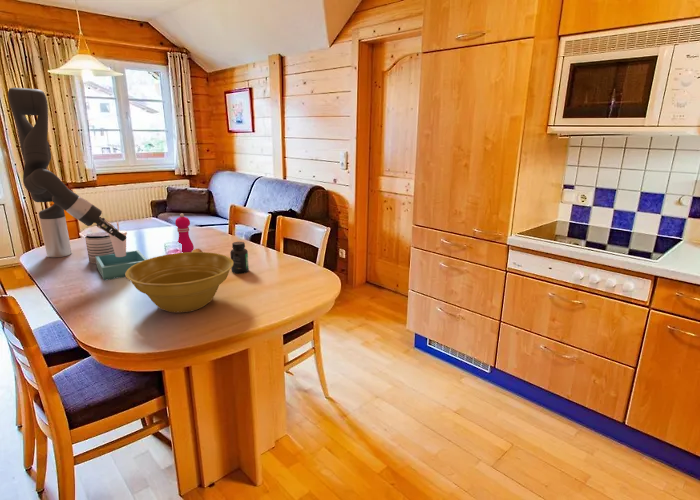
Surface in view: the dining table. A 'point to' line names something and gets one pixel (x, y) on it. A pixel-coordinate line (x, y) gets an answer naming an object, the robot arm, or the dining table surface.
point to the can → (98, 245)
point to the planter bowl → (180, 279)
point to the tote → (117, 264)
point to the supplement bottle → (239, 258)
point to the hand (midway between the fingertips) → (123, 237)
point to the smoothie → (119, 244)
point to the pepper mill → (184, 233)
